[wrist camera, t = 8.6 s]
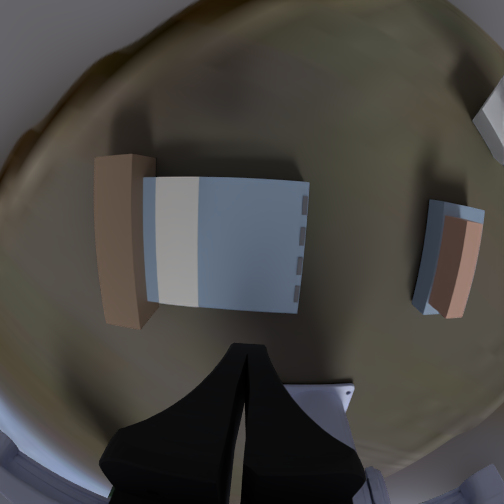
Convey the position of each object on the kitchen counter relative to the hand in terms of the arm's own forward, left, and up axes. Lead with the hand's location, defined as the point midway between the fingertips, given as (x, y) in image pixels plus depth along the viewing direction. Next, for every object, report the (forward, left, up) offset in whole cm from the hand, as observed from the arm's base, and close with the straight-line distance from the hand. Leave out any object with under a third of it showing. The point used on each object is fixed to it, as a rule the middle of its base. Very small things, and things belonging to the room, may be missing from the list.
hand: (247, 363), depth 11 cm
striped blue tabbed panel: (+3, +4, -10) cm, 11 cm away
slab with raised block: (+3, -16, -10) cm, 19 cm away
